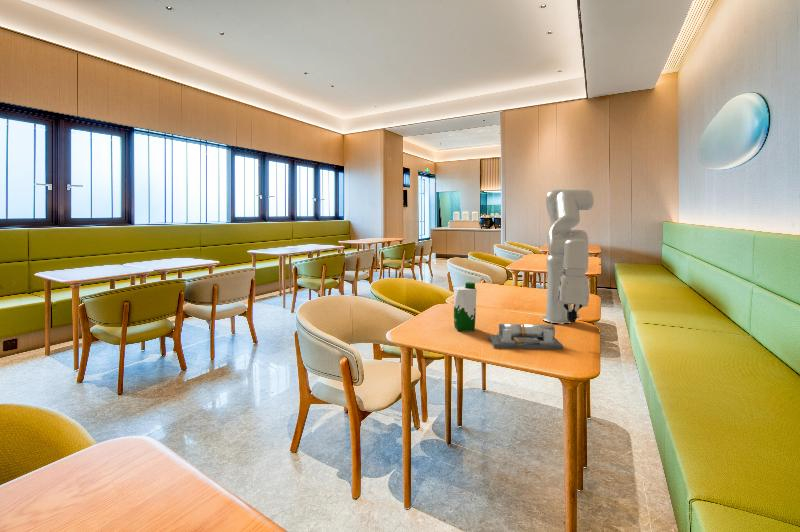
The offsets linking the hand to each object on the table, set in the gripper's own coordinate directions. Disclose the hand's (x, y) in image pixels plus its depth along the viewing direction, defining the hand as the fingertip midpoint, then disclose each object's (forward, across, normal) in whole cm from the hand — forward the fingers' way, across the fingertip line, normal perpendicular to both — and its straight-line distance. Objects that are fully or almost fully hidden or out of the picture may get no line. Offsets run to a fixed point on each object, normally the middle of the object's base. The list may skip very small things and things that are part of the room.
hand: (571, 321), depth 152 cm
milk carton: (+9, -38, +20) cm, 44 cm away
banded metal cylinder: (+4, -15, +1) cm, 16 cm away
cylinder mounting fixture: (+9, -17, +1) cm, 19 cm away
